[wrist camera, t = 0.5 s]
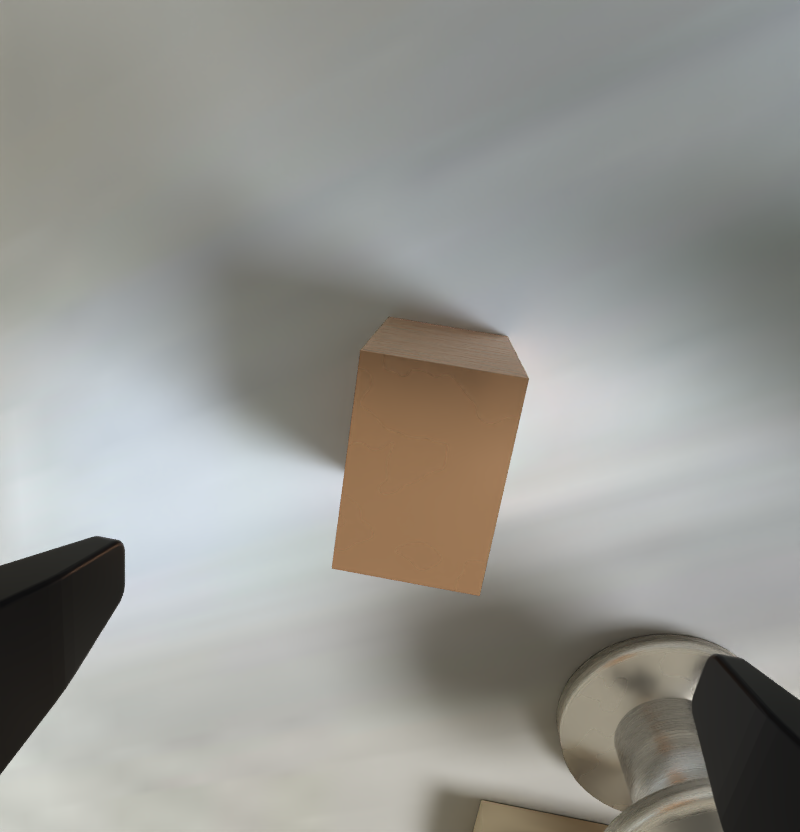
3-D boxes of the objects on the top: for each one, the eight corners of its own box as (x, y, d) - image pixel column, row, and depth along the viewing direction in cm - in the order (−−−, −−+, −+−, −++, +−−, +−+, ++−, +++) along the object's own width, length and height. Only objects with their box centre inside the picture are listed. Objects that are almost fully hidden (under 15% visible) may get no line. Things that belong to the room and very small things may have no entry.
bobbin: (797, 656, 22) (950, 843, 15) (728, 812, 24) (832, 1033, 17) (584, 616, 22) (639, 782, 15) (537, 774, 24) (567, 976, 18)
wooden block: (507, 336, 19) (528, 378, 13) (473, 498, 21) (479, 596, 15) (388, 316, 19) (360, 350, 14) (365, 478, 21) (331, 568, 15)
